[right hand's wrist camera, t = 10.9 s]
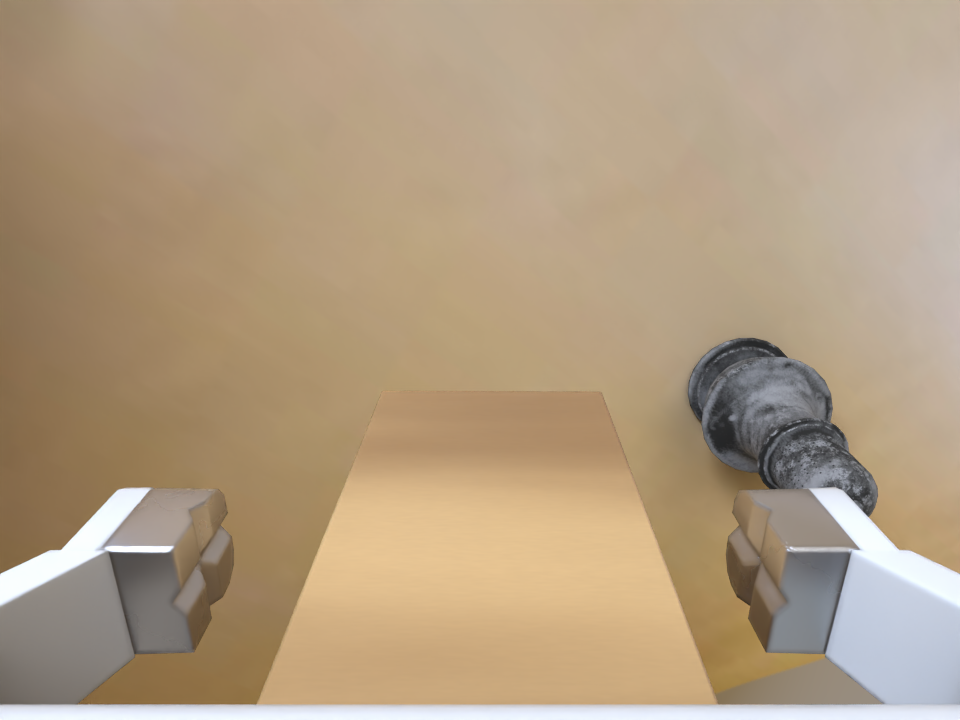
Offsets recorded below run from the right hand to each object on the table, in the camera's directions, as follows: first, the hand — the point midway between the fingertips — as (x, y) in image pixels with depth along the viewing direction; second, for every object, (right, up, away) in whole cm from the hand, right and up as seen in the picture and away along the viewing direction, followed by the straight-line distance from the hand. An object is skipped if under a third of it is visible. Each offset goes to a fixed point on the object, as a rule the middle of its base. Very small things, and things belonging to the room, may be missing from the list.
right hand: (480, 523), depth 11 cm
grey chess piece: (+13, +1, +23) cm, 27 cm away
